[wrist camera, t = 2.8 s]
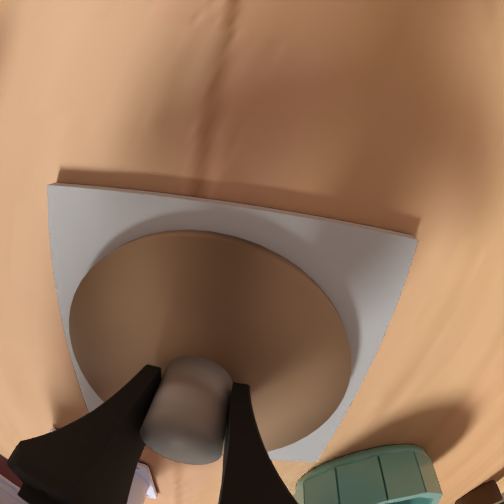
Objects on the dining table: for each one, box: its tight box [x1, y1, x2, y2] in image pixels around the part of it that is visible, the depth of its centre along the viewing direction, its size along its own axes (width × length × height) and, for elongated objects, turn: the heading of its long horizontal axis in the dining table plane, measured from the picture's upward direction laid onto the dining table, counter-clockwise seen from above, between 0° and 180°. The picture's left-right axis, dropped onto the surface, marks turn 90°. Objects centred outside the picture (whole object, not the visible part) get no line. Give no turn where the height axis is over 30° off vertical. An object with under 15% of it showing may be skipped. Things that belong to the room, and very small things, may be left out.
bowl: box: [293, 444, 442, 504], centre depth 15 cm, size 11×11×4 cm
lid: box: [69, 230, 351, 465], centre depth 11 cm, size 13×13×4 cm
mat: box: [47, 183, 418, 462], centre depth 13 cm, size 15×15×1 cm
